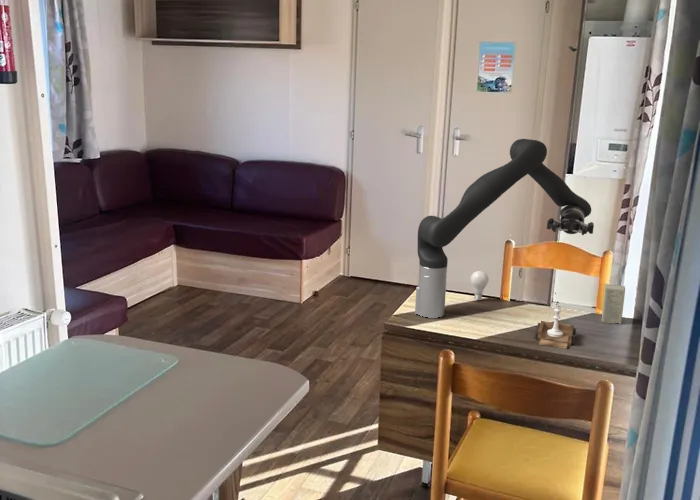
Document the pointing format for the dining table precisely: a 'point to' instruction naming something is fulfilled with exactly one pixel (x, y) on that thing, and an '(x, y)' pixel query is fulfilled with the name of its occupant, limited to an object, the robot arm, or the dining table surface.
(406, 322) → the dining table surface
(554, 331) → the chess piece
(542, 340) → the truck bed
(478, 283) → the lightbulb
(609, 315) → the skincare box
